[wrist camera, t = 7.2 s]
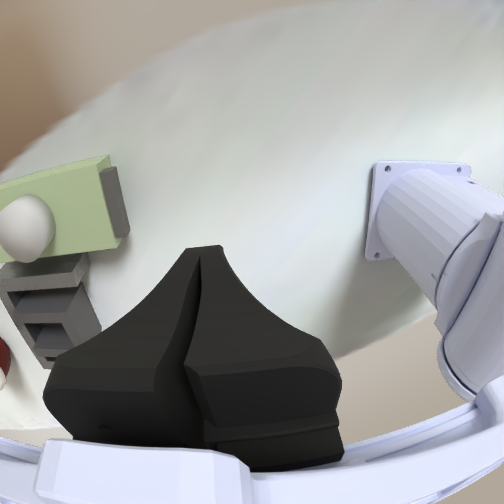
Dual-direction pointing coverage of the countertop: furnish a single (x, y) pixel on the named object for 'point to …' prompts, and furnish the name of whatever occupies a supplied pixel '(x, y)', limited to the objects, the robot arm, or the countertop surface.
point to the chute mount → (39, 287)
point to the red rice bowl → (4, 363)
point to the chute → (58, 318)
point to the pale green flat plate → (62, 211)
